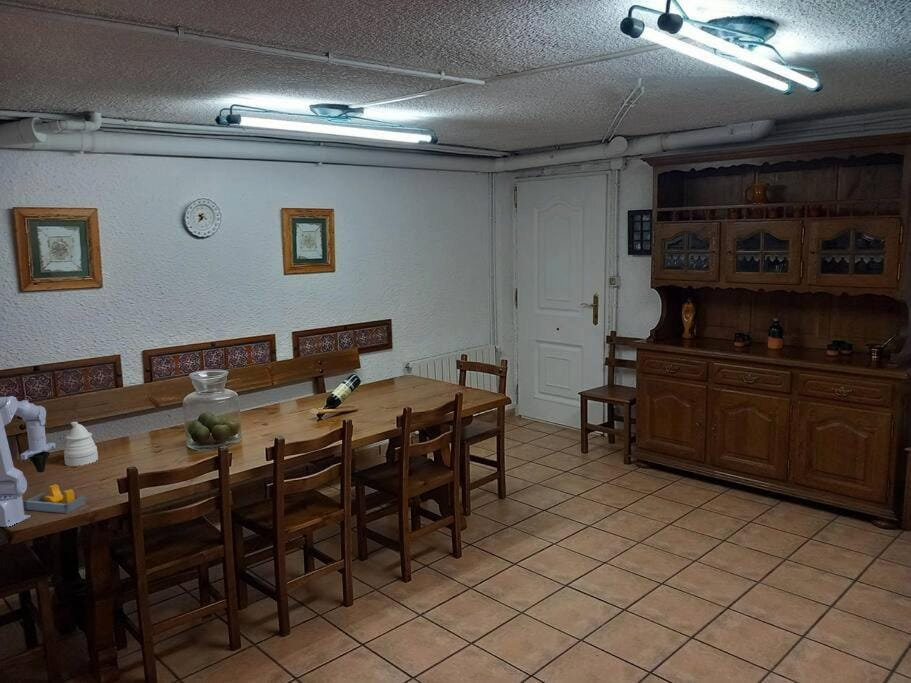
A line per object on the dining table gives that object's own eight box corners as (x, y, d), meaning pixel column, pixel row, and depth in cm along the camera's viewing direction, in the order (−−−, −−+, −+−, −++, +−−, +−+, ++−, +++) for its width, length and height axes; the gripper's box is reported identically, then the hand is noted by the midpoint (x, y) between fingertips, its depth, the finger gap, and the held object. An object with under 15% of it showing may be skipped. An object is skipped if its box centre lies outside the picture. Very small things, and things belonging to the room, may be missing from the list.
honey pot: (84, 466, 299) (79, 426, 296) (58, 465, 301) (53, 424, 298) (104, 457, 311) (100, 417, 308) (79, 455, 314) (75, 416, 311)
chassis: (67, 513, 249) (66, 505, 249) (24, 509, 253) (23, 501, 253) (85, 503, 258) (84, 496, 257) (43, 500, 262) (42, 492, 261)
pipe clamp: (45, 504, 258) (43, 488, 257) (57, 500, 262) (55, 484, 261) (63, 511, 252) (61, 494, 251) (75, 507, 255) (73, 490, 254)
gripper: (30, 443, 255) (34, 479, 257) (60, 432, 269) (64, 466, 271) (14, 442, 257) (18, 477, 259) (45, 431, 271) (49, 464, 273)
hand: (40, 471), depth 265 cm, fingers closed
